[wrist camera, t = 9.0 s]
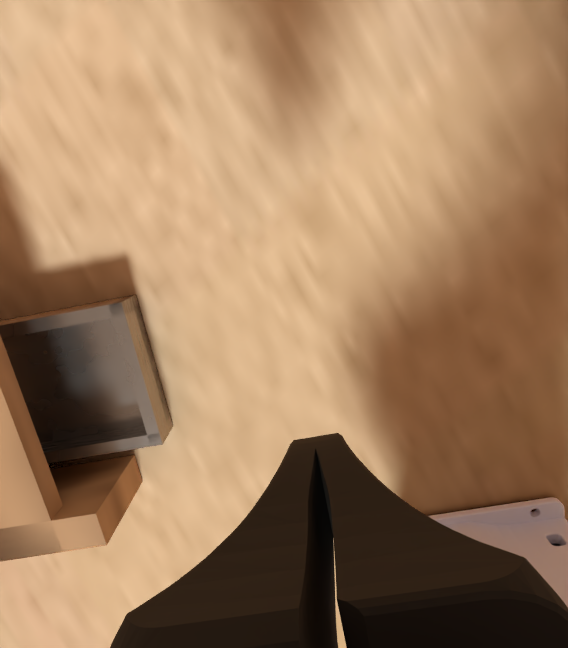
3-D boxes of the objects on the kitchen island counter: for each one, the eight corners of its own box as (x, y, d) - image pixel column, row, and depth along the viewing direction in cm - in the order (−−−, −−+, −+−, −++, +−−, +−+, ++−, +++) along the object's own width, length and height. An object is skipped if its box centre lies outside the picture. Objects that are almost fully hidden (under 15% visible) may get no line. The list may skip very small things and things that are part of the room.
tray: (135, 294, 21) (121, 302, 19) (172, 426, 22) (162, 444, 21) (-60, 332, 21) (-91, 343, 20) (-9, 457, 23) (-34, 477, 21)
